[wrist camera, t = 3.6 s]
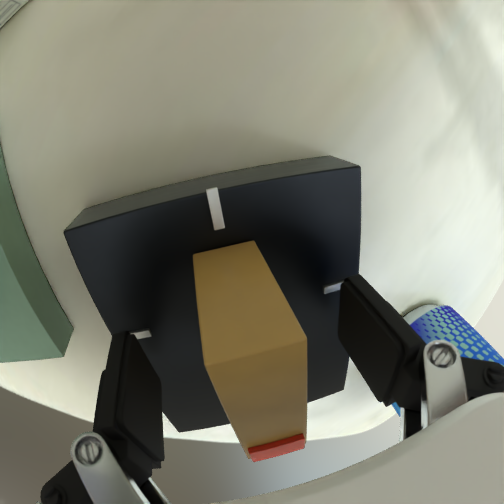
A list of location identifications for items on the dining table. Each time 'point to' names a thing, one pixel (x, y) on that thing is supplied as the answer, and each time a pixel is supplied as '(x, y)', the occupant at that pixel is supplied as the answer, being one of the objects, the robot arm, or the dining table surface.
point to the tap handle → (252, 349)
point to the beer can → (450, 333)
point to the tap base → (213, 237)
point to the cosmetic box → (9, 9)
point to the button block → (25, 292)
